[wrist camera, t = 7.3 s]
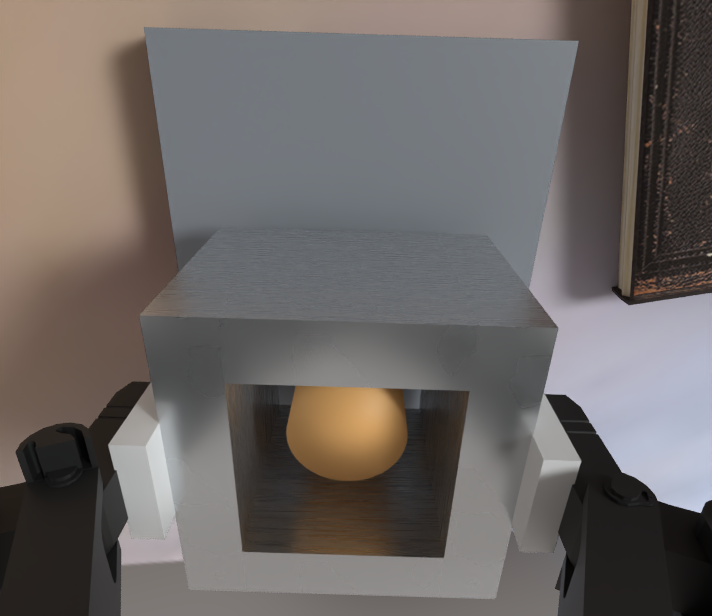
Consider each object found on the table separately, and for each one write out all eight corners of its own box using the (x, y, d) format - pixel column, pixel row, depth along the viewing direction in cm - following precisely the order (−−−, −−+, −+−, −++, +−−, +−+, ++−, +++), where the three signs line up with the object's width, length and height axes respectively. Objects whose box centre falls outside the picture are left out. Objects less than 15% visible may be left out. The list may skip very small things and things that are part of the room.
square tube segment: (220, 226, 15) (139, 315, 9) (486, 234, 15) (558, 328, 9) (240, 436, 18) (189, 589, 13) (456, 442, 18) (495, 598, 13)
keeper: (163, 30, 15) (-3, 2, 8) (559, 43, 15) (719, 25, 8) (219, 473, 23) (159, 643, 16) (477, 482, 23) (524, 656, 16)
